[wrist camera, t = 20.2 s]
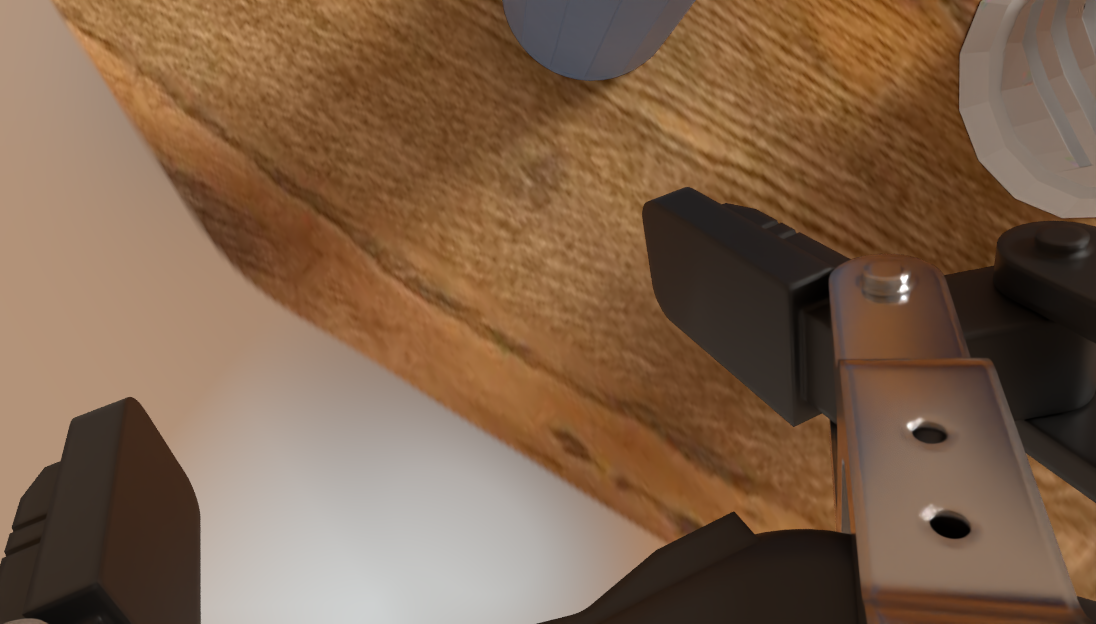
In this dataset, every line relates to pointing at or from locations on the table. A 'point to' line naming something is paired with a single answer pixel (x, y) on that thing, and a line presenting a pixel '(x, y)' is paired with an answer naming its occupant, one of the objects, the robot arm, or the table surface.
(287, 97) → the table surface
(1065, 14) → the french press
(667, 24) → the blue bottle
